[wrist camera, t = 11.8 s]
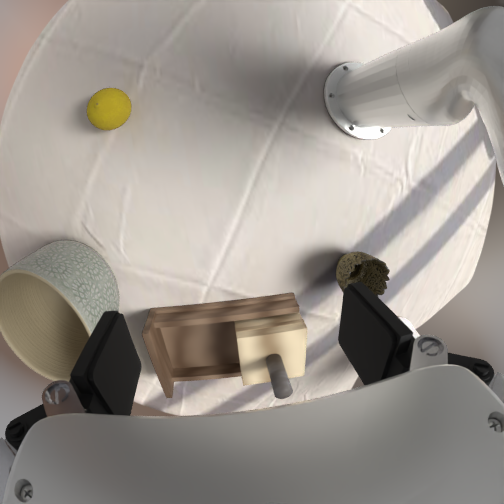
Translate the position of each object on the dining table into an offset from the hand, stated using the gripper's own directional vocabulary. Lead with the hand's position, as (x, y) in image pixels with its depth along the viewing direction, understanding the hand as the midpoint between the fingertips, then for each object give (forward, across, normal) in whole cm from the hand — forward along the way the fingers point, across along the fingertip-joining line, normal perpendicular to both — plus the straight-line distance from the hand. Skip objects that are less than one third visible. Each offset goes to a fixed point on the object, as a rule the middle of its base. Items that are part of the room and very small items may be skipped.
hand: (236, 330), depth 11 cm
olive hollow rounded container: (+28, -19, +11) cm, 36 cm away
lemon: (+28, +13, -15) cm, 35 cm away
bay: (+28, +2, +22) cm, 36 cm away
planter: (+28, +24, +9) cm, 38 cm away
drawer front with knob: (+27, -5, +22) cm, 35 cm away
